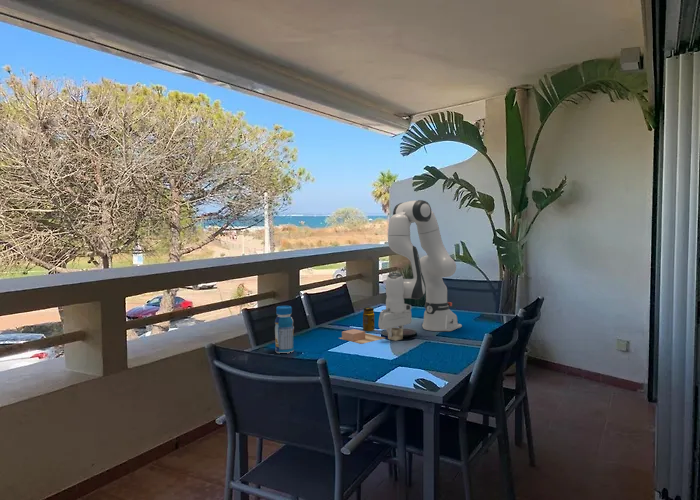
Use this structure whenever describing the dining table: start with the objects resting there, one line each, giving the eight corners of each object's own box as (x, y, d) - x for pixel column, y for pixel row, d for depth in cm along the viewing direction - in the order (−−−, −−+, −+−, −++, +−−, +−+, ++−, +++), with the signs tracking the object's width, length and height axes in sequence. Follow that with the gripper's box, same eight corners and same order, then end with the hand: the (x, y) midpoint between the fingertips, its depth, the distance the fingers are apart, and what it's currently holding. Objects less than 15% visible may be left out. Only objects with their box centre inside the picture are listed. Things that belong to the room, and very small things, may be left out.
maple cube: (395, 337, 241) (394, 327, 241) (402, 339, 237) (402, 328, 237) (388, 339, 238) (387, 329, 237) (395, 341, 234) (395, 330, 234)
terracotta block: (354, 336, 244) (354, 329, 244) (365, 338, 238) (365, 331, 238) (342, 338, 239) (341, 331, 238) (353, 341, 233) (353, 334, 233)
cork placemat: (363, 333, 251) (363, 332, 251) (386, 338, 239) (386, 337, 239) (338, 338, 240) (338, 338, 240) (361, 344, 228) (361, 344, 228)
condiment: (377, 331, 256) (377, 308, 256) (364, 333, 252) (364, 310, 251) (369, 328, 263) (369, 306, 262) (356, 330, 258) (356, 308, 257)
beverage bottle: (285, 355, 211) (285, 309, 210) (271, 352, 216) (270, 307, 215) (298, 350, 219) (297, 306, 217) (283, 348, 223) (282, 304, 222)
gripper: (385, 311, 227) (385, 340, 228) (413, 305, 241) (413, 333, 242) (375, 309, 232) (375, 338, 233) (403, 303, 246) (404, 331, 246)
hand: (395, 335), depth 237 cm, fingers closed on maple cube, 5 cm apart
